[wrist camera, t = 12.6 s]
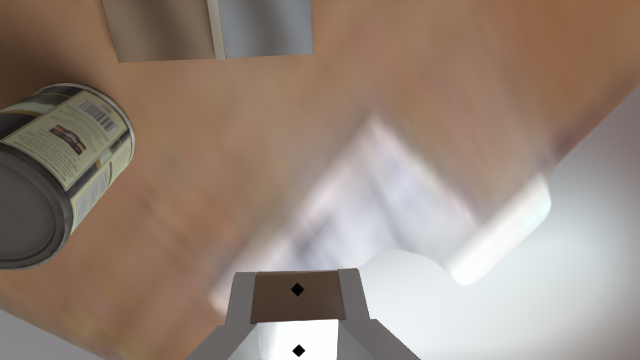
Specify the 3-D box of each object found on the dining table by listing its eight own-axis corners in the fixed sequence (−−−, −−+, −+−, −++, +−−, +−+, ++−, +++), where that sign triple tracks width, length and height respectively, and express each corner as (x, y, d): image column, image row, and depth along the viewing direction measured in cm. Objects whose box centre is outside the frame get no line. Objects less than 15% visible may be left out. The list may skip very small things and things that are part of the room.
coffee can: (17, 158, 39) (-108, 245, 27) (32, 63, 35) (-106, 114, 23) (122, 194, 42) (53, 288, 30) (148, 110, 38) (81, 178, 26)
